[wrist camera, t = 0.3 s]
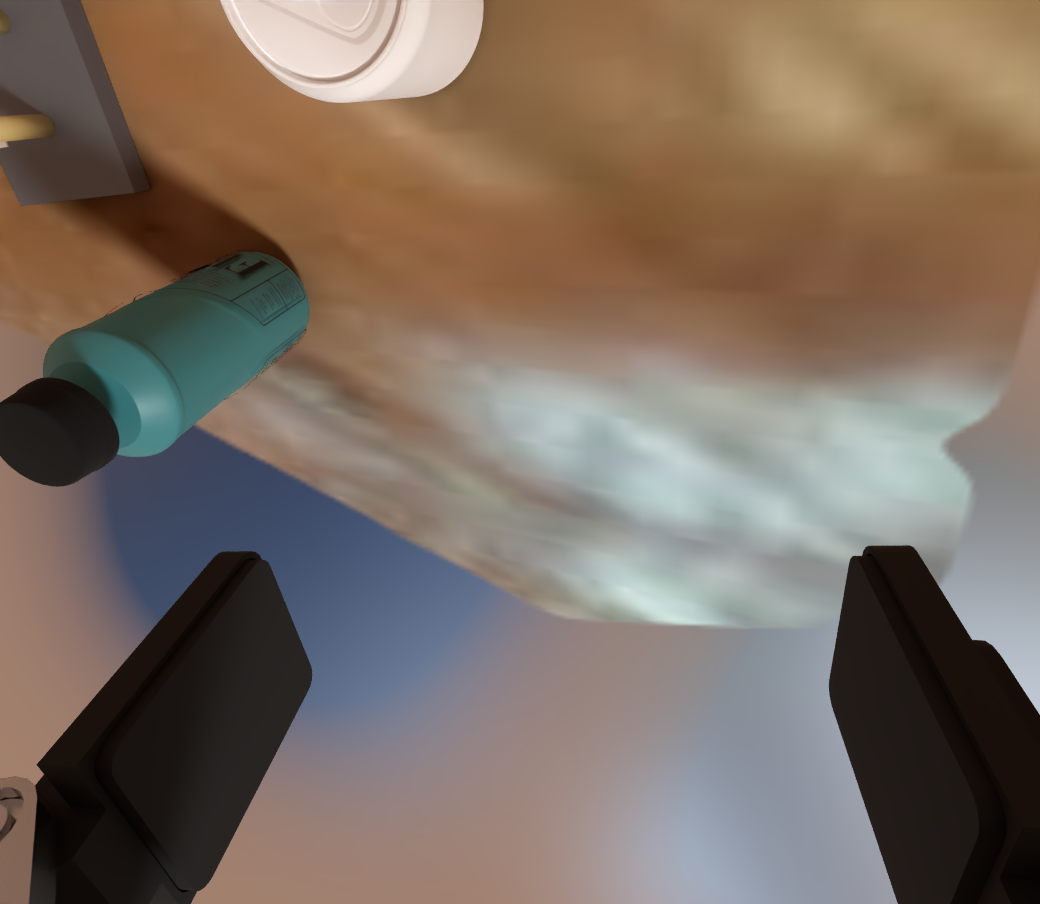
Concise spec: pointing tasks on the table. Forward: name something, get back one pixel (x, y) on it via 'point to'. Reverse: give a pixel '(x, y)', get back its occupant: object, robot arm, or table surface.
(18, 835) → the robot arm
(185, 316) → the beverage bottle
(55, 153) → the header
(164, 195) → the table surface
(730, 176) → the table surface
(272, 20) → the beverage can
